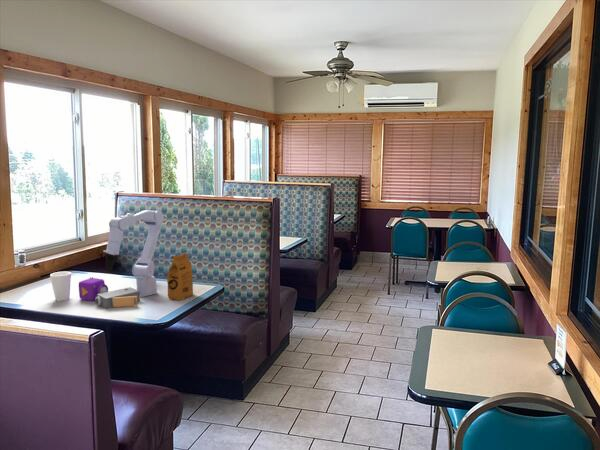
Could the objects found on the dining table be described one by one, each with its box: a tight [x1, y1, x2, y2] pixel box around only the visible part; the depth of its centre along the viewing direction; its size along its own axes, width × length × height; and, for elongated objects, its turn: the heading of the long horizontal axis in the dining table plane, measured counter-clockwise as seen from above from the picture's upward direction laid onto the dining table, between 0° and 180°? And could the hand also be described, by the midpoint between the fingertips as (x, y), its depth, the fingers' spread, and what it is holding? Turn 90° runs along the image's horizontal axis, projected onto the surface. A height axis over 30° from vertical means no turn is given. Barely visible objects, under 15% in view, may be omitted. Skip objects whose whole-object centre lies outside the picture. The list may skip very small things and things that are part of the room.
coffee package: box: [166, 252, 194, 301], centre depth 257 cm, size 10×12×22 cm
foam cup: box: [49, 271, 72, 302], centre depth 255 cm, size 10×9×13 cm
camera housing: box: [94, 286, 141, 310], centre depth 249 cm, size 19×10×6 cm, turn 134°
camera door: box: [112, 296, 138, 308], centre depth 243 cm, size 11×1×4 cm, turn 104°
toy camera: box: [78, 276, 109, 302], centre depth 256 cm, size 11×14×10 cm
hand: (108, 271), depth 238 cm, fingers open, 7 cm apart
